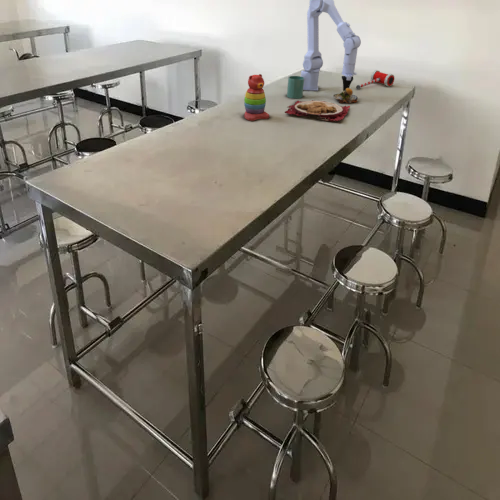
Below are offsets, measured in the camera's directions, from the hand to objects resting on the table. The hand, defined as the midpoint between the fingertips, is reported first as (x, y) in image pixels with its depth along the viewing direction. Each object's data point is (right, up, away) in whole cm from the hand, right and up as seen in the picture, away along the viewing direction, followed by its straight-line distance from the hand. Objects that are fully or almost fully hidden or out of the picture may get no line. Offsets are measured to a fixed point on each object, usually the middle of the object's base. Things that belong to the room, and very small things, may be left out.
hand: (345, 91), depth 242 cm
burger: (-1, -5, -2) cm, 6 cm away
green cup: (-25, -2, +1) cm, 25 cm away
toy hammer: (+20, +10, +22) cm, 32 cm away
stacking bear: (-45, -20, -27) cm, 57 cm away
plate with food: (-16, -16, -19) cm, 30 cm away
